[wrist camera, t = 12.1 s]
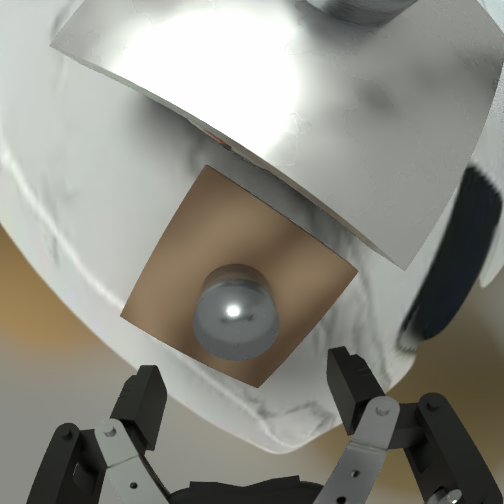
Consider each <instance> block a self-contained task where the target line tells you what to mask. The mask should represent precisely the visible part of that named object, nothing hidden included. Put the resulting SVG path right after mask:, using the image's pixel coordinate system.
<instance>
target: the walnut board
mask: <svg viewBox="0 0 504 504" xmlns="http://www.w3.org/2000/svg"><path fill="white" fill-rule="evenodd" d="M227 264H244V265H248V266H251V267H253V268H255V269H257V270H258V271H259V272H261V273H262V274H263V275H264V277H265V278H266V279H267V281H268V283H269V285H270V288H271V292H272V295H273V299H274V302H275V305H276V309H277V312H278V316H279V322H280V327H279V333H278V335H277V338H276V340H275V341H274V343H273V344H272V346H271V347H270V348H269V349H268V350H266V351H265V352H264V353H262V354H260V355H259V356H256V357H254V358H251V359H247V360H241V361H232V360H225V359H222V358H218V357H216V356H214V355H212V354H211V353H209V352H208V351H206V350H205V349H204V348H203V347H202V346H201V345H200V343H199V342H198V340H197V339H196V337H195V334H194V331H193V317H194V313H195V309H196V306H197V302H198V298H199V295H200V291H201V287H202V285H203V282H204V280H205V279H206V277H207V276H208V275H209V274H210V273H211V272H212V271H214V270H215V269H217V268H219V267H221V266H223V265H227ZM357 273H358V270H357V269H356V268H355V267H353V266H352V265H351V264H350V263H348V262H347V261H346V260H344V259H343V258H342V257H340V256H339V255H338V254H336V253H335V252H334V251H332V250H331V249H330V248H328V247H327V246H326V245H324V244H323V243H321V242H320V241H319V240H317V239H316V238H315V237H313V236H312V235H310V234H309V233H308V232H306V231H305V230H303V229H302V228H301V227H299V226H298V225H296V224H295V223H294V222H292V221H291V220H289V219H288V218H286V217H285V216H284V215H282V214H281V213H279V212H278V211H276V210H275V209H273V208H272V207H271V206H269V205H268V204H266V203H265V202H263V201H262V200H260V199H259V198H257V197H256V196H254V195H253V194H251V193H250V192H248V191H247V190H245V189H244V188H242V187H241V186H239V185H238V184H236V183H235V182H233V181H232V180H230V179H229V178H227V177H226V176H224V175H222V174H221V173H219V172H218V171H216V170H215V169H213V168H212V167H210V166H208V165H205V167H204V168H203V170H202V171H201V173H200V175H199V176H198V178H197V179H196V181H195V182H194V184H193V185H192V187H191V189H190V190H189V192H188V193H187V195H186V196H185V198H184V200H183V201H182V203H181V205H180V206H179V208H178V210H177V211H176V213H175V214H174V216H173V218H172V220H171V221H170V223H169V225H168V226H167V228H166V230H165V231H164V233H163V235H162V237H161V238H160V240H159V242H158V244H157V246H156V247H155V249H154V251H153V253H152V255H151V256H150V258H149V260H148V262H147V264H146V266H145V267H144V269H143V271H142V273H141V275H140V277H139V279H138V281H137V283H136V285H135V287H134V289H133V291H132V293H131V295H130V297H129V299H128V301H127V303H126V305H125V307H124V309H123V311H122V313H121V315H120V317H122V318H124V319H125V320H127V321H128V322H130V323H132V324H133V325H135V326H136V327H138V328H140V329H141V330H143V331H145V332H146V333H148V334H150V335H151V336H153V337H155V338H157V339H158V340H160V341H162V342H164V343H165V344H167V345H169V346H171V347H173V348H175V349H176V350H178V351H180V352H182V353H184V354H186V355H188V356H190V357H192V358H193V359H195V360H197V361H199V362H201V363H203V364H205V365H207V366H209V367H212V368H214V369H216V370H218V371H220V372H222V373H224V374H226V375H228V376H231V377H233V378H235V379H237V380H240V381H242V382H244V383H246V384H249V385H251V386H253V387H256V388H259V387H260V386H261V385H262V384H263V383H264V382H265V381H266V380H267V378H268V377H269V376H270V375H271V374H272V373H273V372H274V371H275V370H276V369H277V368H278V367H279V366H280V365H281V364H282V363H283V362H284V360H285V359H286V358H287V357H288V356H289V355H290V354H291V353H292V352H293V351H294V350H295V348H296V347H297V346H298V345H299V344H300V343H301V342H302V341H303V339H304V338H305V337H306V336H307V335H308V334H309V332H310V331H311V330H312V329H313V328H314V327H315V325H316V324H317V323H318V322H319V321H320V319H321V318H322V317H323V316H324V315H325V313H326V312H327V311H328V310H329V309H330V307H331V306H332V305H333V304H334V302H335V301H336V300H337V299H338V297H339V296H340V295H341V294H342V292H343V291H344V290H345V288H346V287H347V286H348V285H349V283H350V282H351V281H352V279H353V278H354V277H355V275H356V274H357Z"/></svg>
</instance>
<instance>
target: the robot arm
mask: <svg viewBox="0 0 504 504" xmlns="http://www.w3.org/2000/svg"><path fill="white" fill-rule="evenodd" d="M327 382H328V385H329V388H330V390H331V393H332V396H333V398H334V401H335V403H336V406H337V409H338V411H339V414H340V416H341V419H342V422H343V424H344V427H345V430H346V432H347V435H348V436H349V435H352V434H354V436H353V438H352V440H351V441H349V443H348V444H347V446H346V448H345V450H344V452H343V454H342V456H341V458H340V459H339V461H338V463H337V465H336V467H335V468H334V470H333V472H332V474H331V475H330V477H329V479H328V481H327V482H326V484H325V485H324V486H323V485H320V484H317V483H313V482H307V481H300V480H299V475H297V476H291V477H283V478H276V479H270V480H267V481H263V482H260V483H257V484H253V485H249V486H245V487H240V486H234V485H228V484H223V483H218V482H192V481H191V482H190V487H189V488H185V489H181V490H179V491H176V492H174V493H172V494H170V492H169V491H168V490H167V489H166V487H164V485H163V483H162V482H161V481H160V479H159V478H158V476H157V475H156V473H155V472H154V470H153V468H152V467H151V465H150V464H149V462H148V461H147V459H146V458H145V456H144V455H145V451H146V450H151V451H154V449H155V445H156V441H157V437H158V432H159V428H160V424H161V420H162V416H163V412H164V408H165V404H166V401H167V390H166V387H165V384H164V382H163V379H162V377H161V374H160V371H159V369H158V367H157V366H156V365H141V366H140V368H139V370H138V373H137V375H132V376H131V377H130V378H129V379H128V380H127V381H126V382H125V384H124V386H123V389H122V391H121V393H120V397H119V398H118V400H117V402H116V404H115V407H114V409H113V412H112V414H111V416H110V418H109V419H106V420H103V421H101V422H100V423H99V424H98V425H97V426H96V428H95V429H91V430H79V428H78V427H77V426H76V425H75V424H73V423H64V424H62V425H60V426H59V427H58V428H57V429H56V431H55V433H54V435H53V437H52V439H51V441H50V443H49V446H48V448H47V451H46V453H45V455H44V457H43V460H42V462H41V465H40V467H39V470H38V472H37V475H36V477H35V480H34V483H33V485H32V488H31V491H30V494H29V497H28V500H27V503H26V504H98V502H99V498H100V493H101V489H102V485H103V481H104V476H105V472H107V474H108V476H109V478H110V480H111V482H112V484H113V487H114V489H115V491H116V492H117V494H118V496H119V498H120V500H121V502H122V504H365V502H366V500H367V498H368V496H369V494H370V491H371V489H372V487H373V485H374V483H375V481H376V478H377V476H378V474H379V471H380V469H381V466H382V464H383V461H384V459H385V456H386V454H387V450H388V449H397V448H403V449H404V452H405V454H406V457H407V459H408V461H409V464H410V466H411V469H412V471H413V474H414V476H415V479H416V481H417V484H418V487H419V489H420V492H421V495H422V497H423V500H424V504H503V497H502V494H501V492H500V490H499V488H498V486H497V484H496V482H495V480H494V478H493V476H492V474H491V472H490V471H489V469H488V467H487V465H486V464H485V461H484V460H483V458H482V456H481V454H480V453H479V451H478V449H477V447H476V446H475V444H474V442H473V441H472V439H471V437H470V435H469V434H468V432H467V431H466V429H465V428H464V426H463V424H462V423H461V421H460V419H459V418H458V416H457V415H456V413H455V411H454V410H453V408H452V407H451V405H450V404H449V402H448V401H447V399H446V398H445V397H444V396H443V395H441V394H438V393H427V394H425V395H423V396H422V397H421V398H420V400H419V402H418V403H408V404H400V403H398V402H397V401H396V400H395V399H393V398H391V397H387V396H386V395H385V394H384V392H383V390H382V388H381V387H380V385H379V383H378V382H377V380H376V378H375V377H374V375H373V374H372V372H371V370H370V369H369V367H368V365H367V363H366V362H365V360H364V359H363V358H361V357H360V356H358V355H357V354H355V355H350V354H349V353H348V351H347V349H346V347H345V346H342V347H337V348H332V349H329V350H328V359H327ZM76 464H77V466H76ZM75 467H76V469H75ZM74 471H75V472H74ZM73 474H74V475H73Z"/></svg>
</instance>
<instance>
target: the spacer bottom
mask: <svg viewBox="0 0 504 504" xmlns="http://www.w3.org/2000/svg"><path fill="white" fill-rule="evenodd" d="M307 1H308V2H309V3H311V4H312V5H313V6H315V7H317V8H318V9H320V10H321V11H323V12H325V13H327V14H329V15H331V16H333V17H335V18H338V19H340V20H343V21H346V22H349V23H353V24H357V25H363V26H380V25H384V24H387V23H389V22H390V21H392V20H393V19H394V18H396V17H397V16H398V15H400V14H401V13H402V12H404V11H405V10H406V9H408V8H409V7H410V6H412V5H413V4H414V3H416V2H417V1H419V0H307Z"/></svg>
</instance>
